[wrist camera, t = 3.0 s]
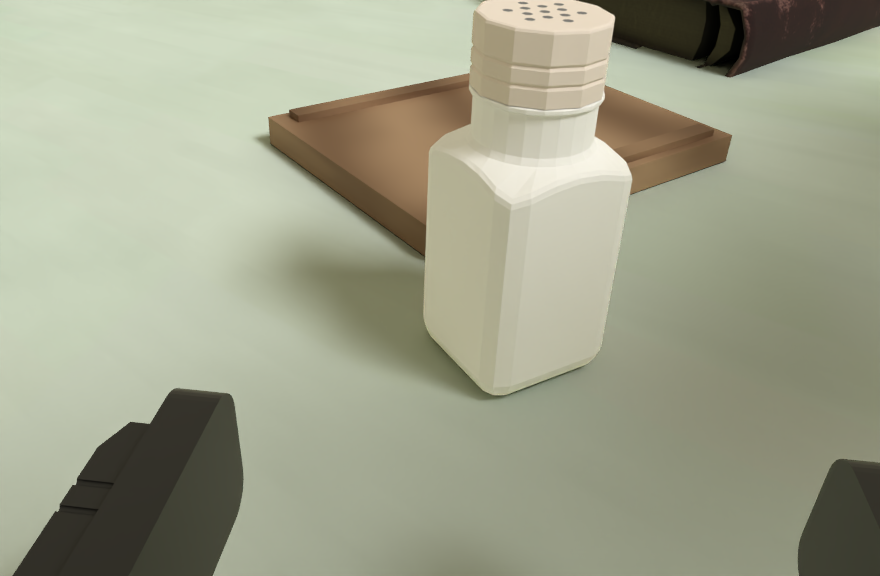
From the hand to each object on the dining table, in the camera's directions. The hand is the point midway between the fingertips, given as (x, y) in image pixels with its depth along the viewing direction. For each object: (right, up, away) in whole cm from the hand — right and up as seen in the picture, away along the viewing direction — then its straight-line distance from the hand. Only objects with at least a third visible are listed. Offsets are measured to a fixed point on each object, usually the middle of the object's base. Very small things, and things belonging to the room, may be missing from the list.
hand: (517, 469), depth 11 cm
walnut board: (+2, +8, +24) cm, 26 cm away
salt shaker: (+1, +1, +12) cm, 12 cm away
